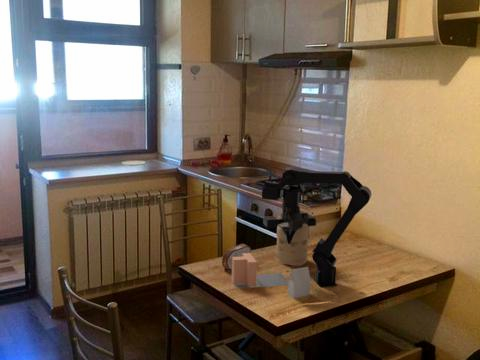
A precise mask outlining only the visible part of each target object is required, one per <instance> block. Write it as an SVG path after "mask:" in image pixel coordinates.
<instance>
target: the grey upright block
mask: <svg viewBox="0 0 480 360" xmlns="http://www.w3.org/2000/svg"><path fill="white" fill-rule="evenodd" d="M287 281H288V285H287V291H286V292H287V293H286V294H287V295H288V296H290V297H291V298H292V299H297V298H301V297H306V296H310V295H311V285H312V284H311V281H312V278H311V276H310V269H309V266H306V267H304V266H302V267H298V268H293V269H291V270H290V273H289V276H288V279H287Z"/></svg>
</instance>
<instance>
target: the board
mask: <svg viewBox="0 0 480 360" xmlns="http://www.w3.org/2000/svg"><path fill="white" fill-rule="evenodd" d="M229 279H230V281H231V283H232V284H233V282H232V276H229ZM233 286H234V287H235V290H242V289H255V288H267V287H269V288H271V287H279V286H280V287H281V286H288V279H286V277H285V276H284V275H283V273H281V272H279V273H278V272H277V273H263V274H257V276H256V286H250V287H248V286H247V284H246V283H242V284H233Z"/></svg>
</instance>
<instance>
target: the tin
mask: <svg viewBox="0 0 480 360" xmlns="http://www.w3.org/2000/svg"><path fill="white" fill-rule="evenodd" d="M242 253H251V254H252V248H251V247H250V246H249V245H247V244H245V243H240V244H238V245H235V246H231V247H229V248H228V249H227V250H226V251H225V252H224V254H223V255H222V259H221V264H222V267H223V268H224V269H227V270H229V271H232V257H242Z"/></svg>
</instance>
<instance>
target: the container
mask: <svg viewBox="0 0 480 360" xmlns="http://www.w3.org/2000/svg"><path fill="white" fill-rule="evenodd" d="M277 219H282V217H281V215H279V216H278V217H277ZM309 232H310V226H308V225H307V224H303V227H302V228H300V229H298V230H297V231H296V232H295V234H294V236H293V238H292V241H291V243H290V244H287V241H286V238H285V235H284V232H283V230H282V229H281V228H280V227H279V226H277V227H276V248H275V256H276V258H275V259H276V262H277V263H278V264H281V265H287V266H289V265H290V266H291V267H298V266H299V267H303V265H305V264H306V263H307V262H308V247H309V234H310V233H309Z"/></svg>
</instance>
